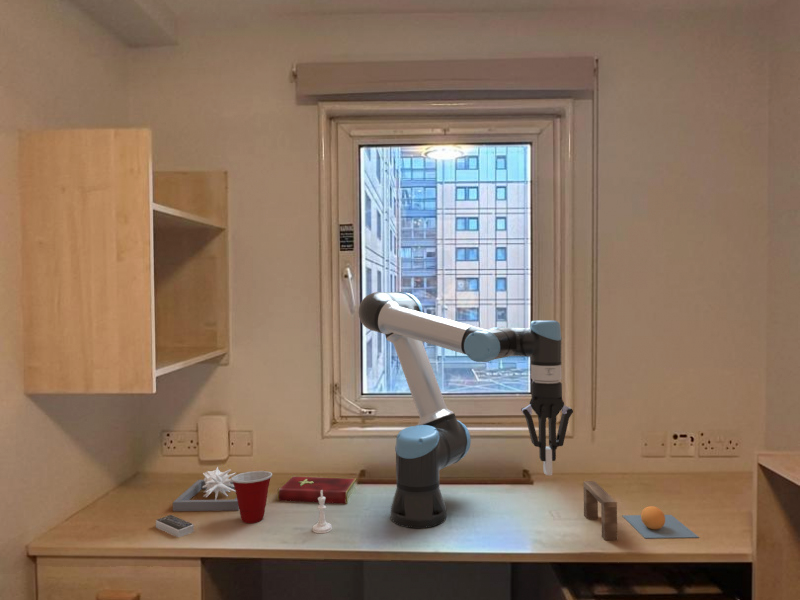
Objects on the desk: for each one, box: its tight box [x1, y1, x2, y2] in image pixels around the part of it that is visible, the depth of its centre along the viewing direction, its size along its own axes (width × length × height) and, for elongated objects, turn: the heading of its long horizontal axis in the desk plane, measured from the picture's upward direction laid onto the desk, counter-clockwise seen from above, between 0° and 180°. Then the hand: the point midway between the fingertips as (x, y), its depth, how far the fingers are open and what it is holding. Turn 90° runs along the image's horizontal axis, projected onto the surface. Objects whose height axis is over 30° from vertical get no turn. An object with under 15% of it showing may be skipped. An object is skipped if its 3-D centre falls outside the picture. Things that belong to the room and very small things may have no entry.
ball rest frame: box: [172, 479, 240, 512], centre depth 156 cm, size 18×18×2 cm
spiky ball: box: [202, 466, 237, 500], centre depth 159 cm, size 11×12×8 cm
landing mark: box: [622, 514, 700, 539], centre depth 133 cm, size 13×13×1 cm
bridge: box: [583, 480, 618, 541], centre depth 133 cm, size 3×14×9 cm, turn 0°
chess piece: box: [312, 490, 333, 534], centre depth 134 cm, size 5×5×10 cm
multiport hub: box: [155, 514, 195, 538], centre depth 135 cm, size 4×11×2 cm, turn 54°
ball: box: [640, 505, 665, 530], centre depth 131 cm, size 6×6×6 cm
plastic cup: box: [230, 470, 273, 524], centre depth 141 cm, size 11×11×12 cm
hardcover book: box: [277, 475, 357, 505], centre depth 158 cm, size 12×21×4 cm, turn 81°
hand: (547, 473), depth 133 cm, fingers closed
